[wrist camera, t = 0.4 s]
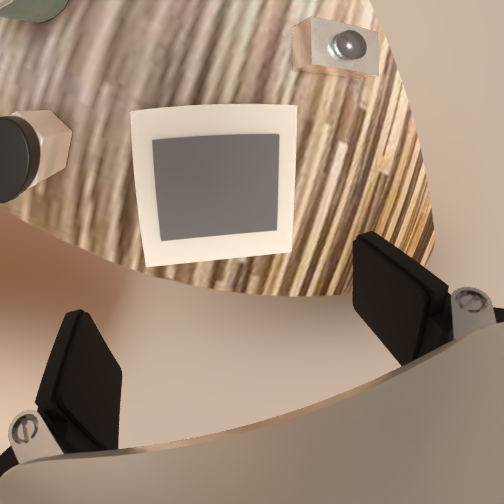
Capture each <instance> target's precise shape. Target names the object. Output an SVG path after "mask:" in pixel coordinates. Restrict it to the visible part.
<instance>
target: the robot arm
mask: <svg viewBox="0 0 504 504" xmlns="http://www.w3.org/2000/svg"><path fill="white" fill-rule="evenodd" d="M448 288H449V286H448V285H447V284H445V283H444V282H443V281H442V280H440V279H439V278H438V277H436V276H435V275H434V274H432V273H431V272H430V271H428V270H427V269H426V268H424V267H423V266H422V265H420V264H419V263H418V262H416V261H415V260H414V259H412V258H411V257H409V256H408V255H407V254H405V253H404V252H402V251H401V250H400V249H398V248H397V247H395V246H394V245H393V244H391V243H390V242H388V241H387V240H385V239H384V238H383V237H381V236H380V235H378V234H377V233H375V232H373V231H370V232H366V233H363V234H359V235H358V236H357V237H356V240H354V241H353V306H354V309H355V310H356V312H357V313H358V314H359V315H360V317H361V318H362V319H363V320H364V321H365V323H367V325H368V326H369V327H370V328H371V329H372V331H373V332H374V333H375V334H376V335H377V337H378V338H379V339H380V340H381V342H382V343H383V344H384V345H385V346H386V348H387V349H388V350H389V351H390V352H391V354H392V355H393V356H394V357H395V358H396V360H397V361H398V362H399V363H400V364H401V366H402V367H400V368H398V369H396V370H394V371H392V372H389V373H387V374H385V375H383V376H381V377H379V378H377V379H374V380H372V381H370V382H368V383H365V384H363V385H361V386H358V387H356V388H354V389H351V390H349V391H346V392H344V393H342V394H339V395H336V396H334V397H332V398H329V399H326V400H324V401H321V402H318V403H315V404H313V405H310V406H307V407H304V408H301V409H298V410H296V411H293V412H290V413H286V414H283V415H280V416H277V417H274V418H270V419H267V420H264V421H260V422H257V423H253V424H250V425H246V426H242V427H238V428H235V429H231V430H227V431H223V432H219V433H214V434H209V435H205V436H201V437H195V438H190V439H186V440H180V441H175V442H169V443H162V444H157V445H150V446H142V447H134V448H126V449H118V435H119V413H120V398H121V385H122V371H121V368H120V366H119V364H118V363H117V361H116V359H115V358H114V356H113V355H112V353H111V351H110V350H109V348H108V346H107V345H106V343H105V341H104V339H103V338H102V336H101V334H100V332H99V331H98V329H97V327H96V325H95V323H94V322H93V320H92V318H91V316H90V314H89V313H87V312H84V311H83V310H81V309H80V310H76V311H72V312H68V313H66V315H65V317H64V320H63V322H62V324H61V327H60V329H59V332H58V335H57V337H56V340H55V343H54V345H53V348H52V351H51V354H50V356H49V359H48V362H47V365H46V368H45V371H44V374H43V377H42V380H41V384H40V387H39V390H38V393H37V397H36V400H35V403H36V405H38V410H37V412H36V411H34V410H27V411H23V412H22V413H20V414H19V415H17V416H16V417H15V418H14V420H13V421H12V423H11V424H10V427H9V433H8V437H9V441H10V444H11V446H10V447H9V448H8V449H7V450H6V451H5V452H4V453H2V454H1V455H0V504H504V309H502V308H495V307H493V306H492V302H491V300H490V298H489V297H488V296H487V294H485V293H484V292H483V291H481V290H479V289H476V288H471V287H463V288H459V289H457V290H455V291H454V292H453V293H452V295H450V294H449V293H448Z"/></svg>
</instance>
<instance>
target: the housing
mask: <svg viewBox="0 0 504 504" xmlns="http://www.w3.org/2000/svg"><path fill="white" fill-rule="evenodd" d="M292 70H296V71H306V72H315V73H322V74H330V75H337V76H343V77H349V78H361V77H372V76H379V52H378V32H375V31H372V30H368V29H365V28H361V27H357V26H353V25H349V24H345V23H341V22H336V21H332V20H327V19H322V18H316V17H309V18H308V19H306V20H304V21H303V22H301V23H300V24H298V25H296V26H295V27H293V28H292Z"/></svg>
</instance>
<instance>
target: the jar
mask: <svg viewBox="0 0 504 504" xmlns="http://www.w3.org/2000/svg"><path fill="white" fill-rule="evenodd" d="M71 138H72V131H71V130H70V129H69V128H68V127H67V126H66V125H65V124H64V123H63V122H62V121H61V120H60V119H59V118H58V117H57V116H56V115H55V114H54V113H53V112H52V111H51V110H35V111H16V112H14V113H13V114H11V115H9V116H4V117H0V203H5V202H8V201H10V200H13V199H15V198H16V197H18V196H19V194H21V193H23V192H24V191H25V190H26V189H28V188H30V187H32V186H35V185H37V184H38V183H40V182H42V181H43V180H45V179H47V178H48V177H50V176H52V175H54V174H55V173H57V172H59V171H61V170H62V169H64V168H65V167H66V163H67V158H68V152H69V147H70V142H71Z"/></svg>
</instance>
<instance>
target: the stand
mask: <svg viewBox="0 0 504 504" xmlns="http://www.w3.org/2000/svg"><path fill="white" fill-rule="evenodd" d="M130 118H131V138H132V153H133V166H134V177H135V187H136V197H137V206H138V214H139V222H140V229H141V236H142V243H143V250H144V256H145V262H146V267H152V266H162V265H172V264H181V263H191V262H201V261H210V260H220V259H229V258H239V257H248V256H258V255H267V254H277V253H286V252H291V250H292V233H293V214H294V193H295V168H296V135H297V105H275V104H212V105H191V106H176V107H164V108H153V109H144V110H136V111H130Z"/></svg>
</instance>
